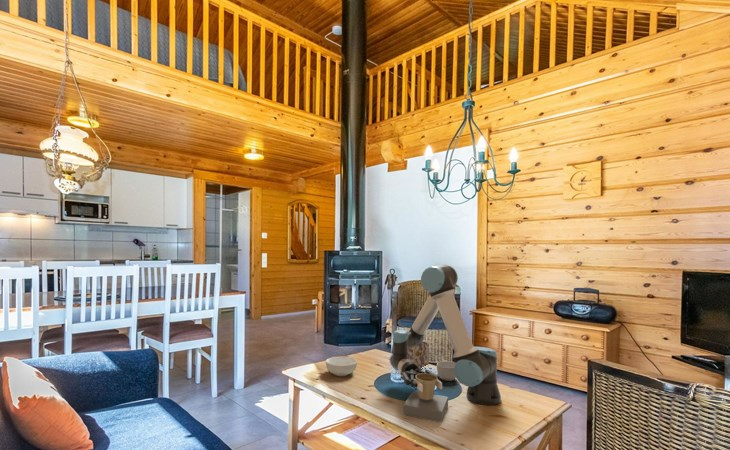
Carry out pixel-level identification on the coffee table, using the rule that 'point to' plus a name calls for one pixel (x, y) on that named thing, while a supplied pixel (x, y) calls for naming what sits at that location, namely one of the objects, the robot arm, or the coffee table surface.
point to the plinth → (426, 407)
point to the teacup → (446, 370)
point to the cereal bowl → (341, 365)
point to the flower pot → (426, 385)
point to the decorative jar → (419, 354)
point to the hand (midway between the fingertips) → (431, 387)
